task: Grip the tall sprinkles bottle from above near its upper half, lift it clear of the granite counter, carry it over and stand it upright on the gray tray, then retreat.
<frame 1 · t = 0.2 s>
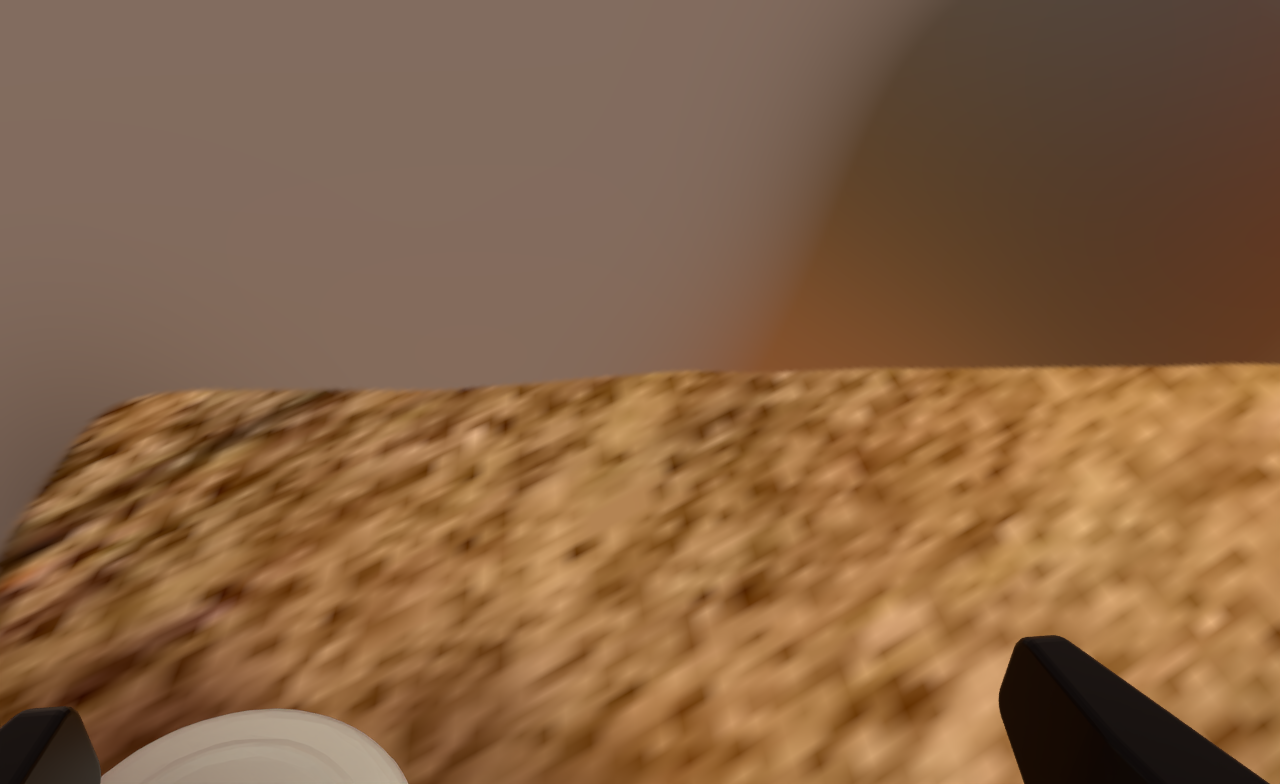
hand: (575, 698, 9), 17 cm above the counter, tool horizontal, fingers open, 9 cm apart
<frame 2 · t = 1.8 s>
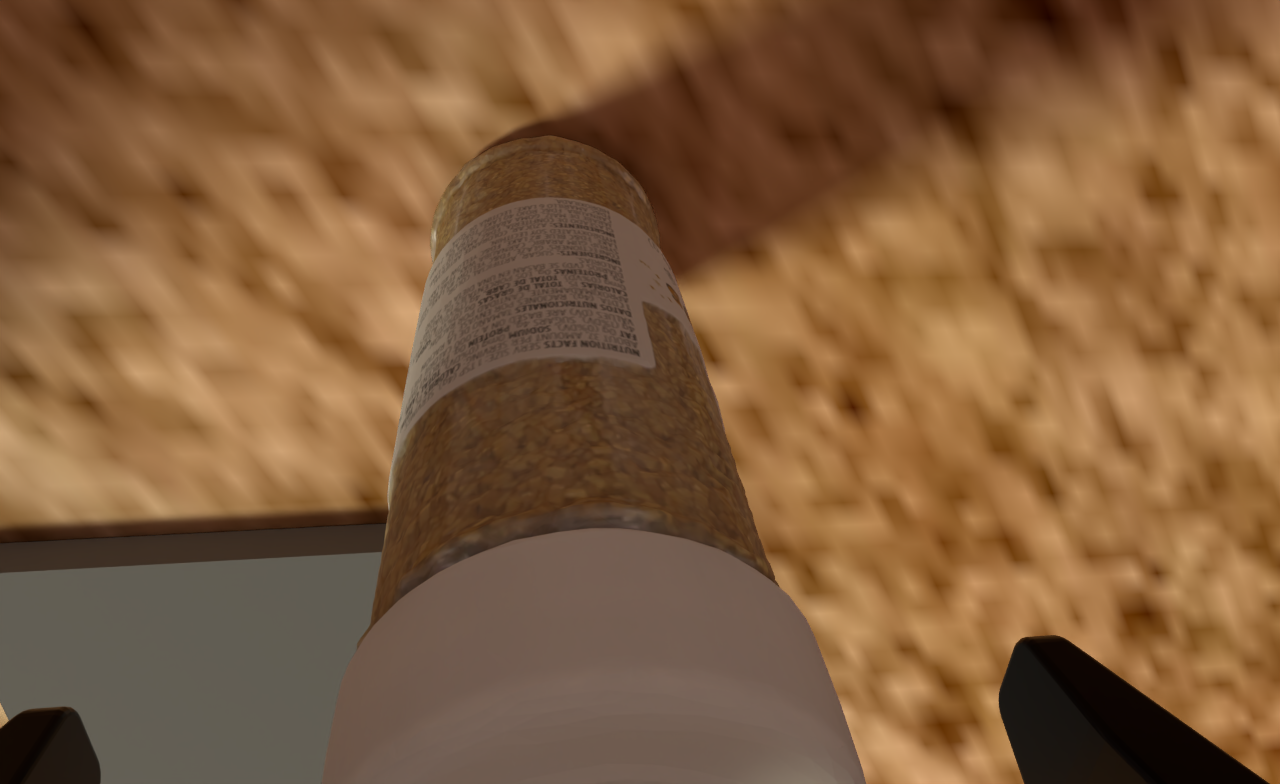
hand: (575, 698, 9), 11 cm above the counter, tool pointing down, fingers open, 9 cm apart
sprinkles bottle: (544, 236, 19), on the counter
gray tray: (365, 701, 25), on the counter
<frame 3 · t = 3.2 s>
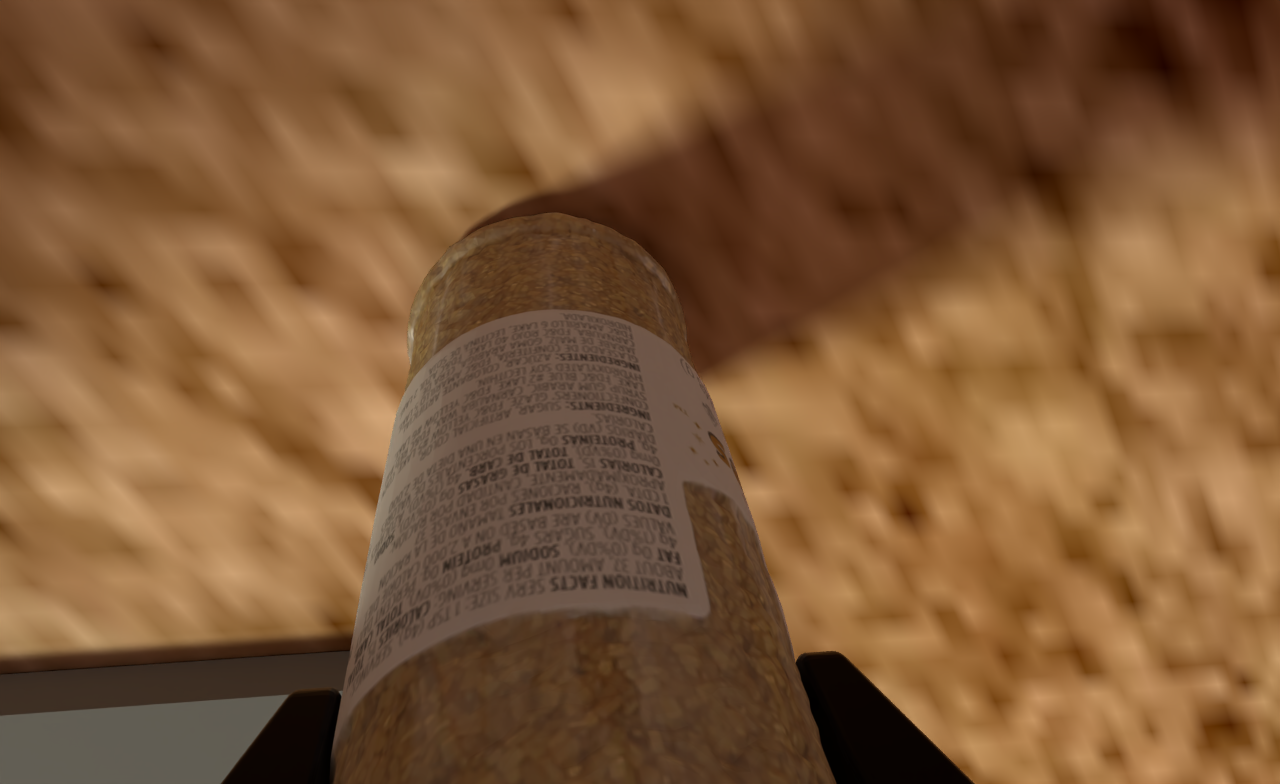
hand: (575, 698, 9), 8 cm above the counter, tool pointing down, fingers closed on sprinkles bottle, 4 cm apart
sprinkles bottle: (545, 326, 16), on the counter, touching gripper
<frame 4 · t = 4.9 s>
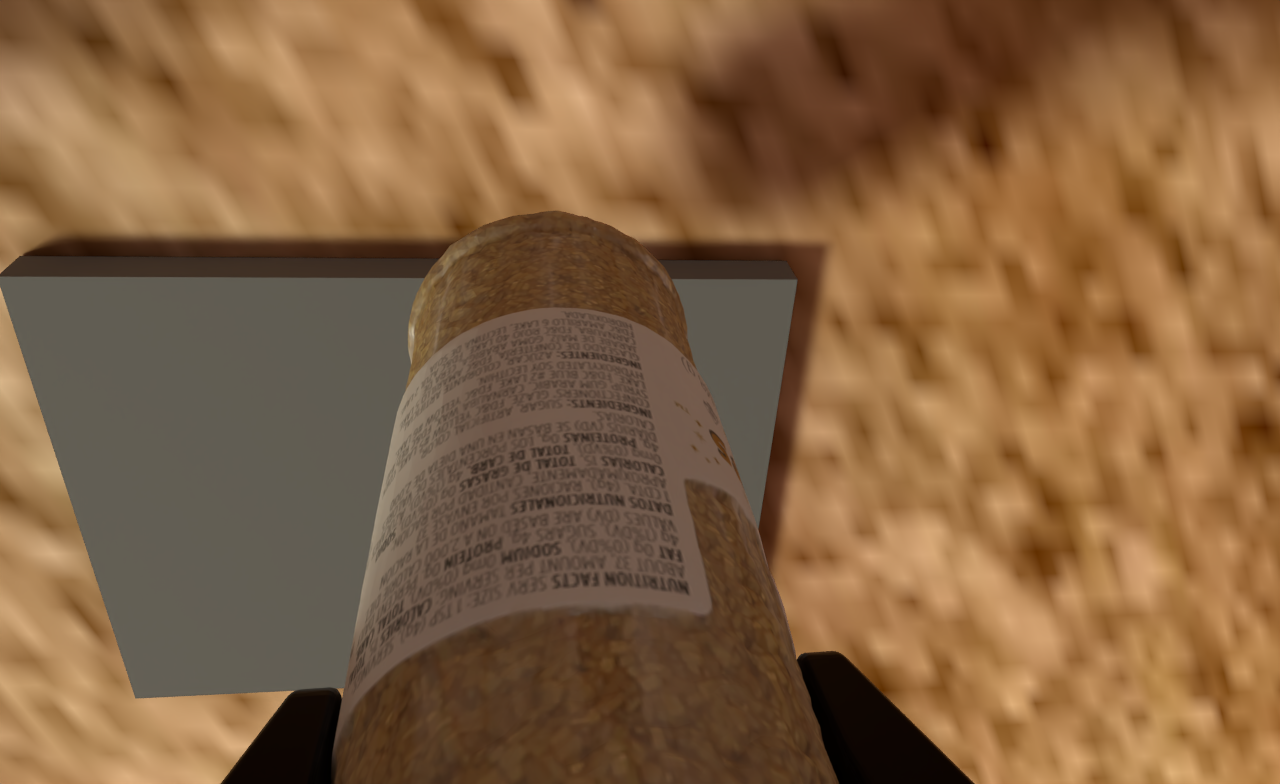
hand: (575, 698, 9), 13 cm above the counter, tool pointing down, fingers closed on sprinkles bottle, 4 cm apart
sprinkles bottle: (546, 325, 16), point 5 cm above the counter, touching gripper
gray tray: (438, 483, 23), on the counter
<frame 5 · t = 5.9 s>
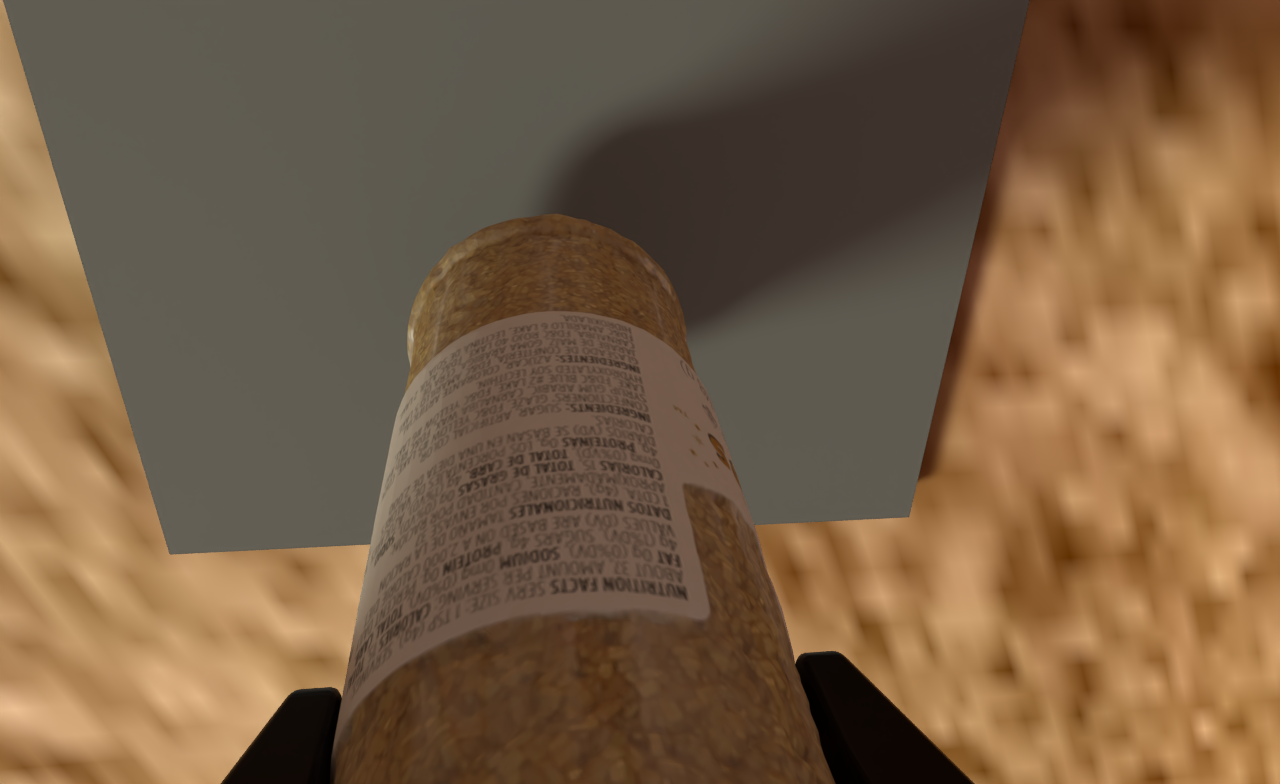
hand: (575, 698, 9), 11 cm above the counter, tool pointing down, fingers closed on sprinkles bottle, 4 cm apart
sprinkles bottle: (545, 327, 16), point 3 cm above the counter, touching gripper
gray tray: (549, 261, 18), on the counter
when the fingers open (9 cm above the counter, at t = 6.8 s): sprinkles bottle stays where it is, resting on gray tray.
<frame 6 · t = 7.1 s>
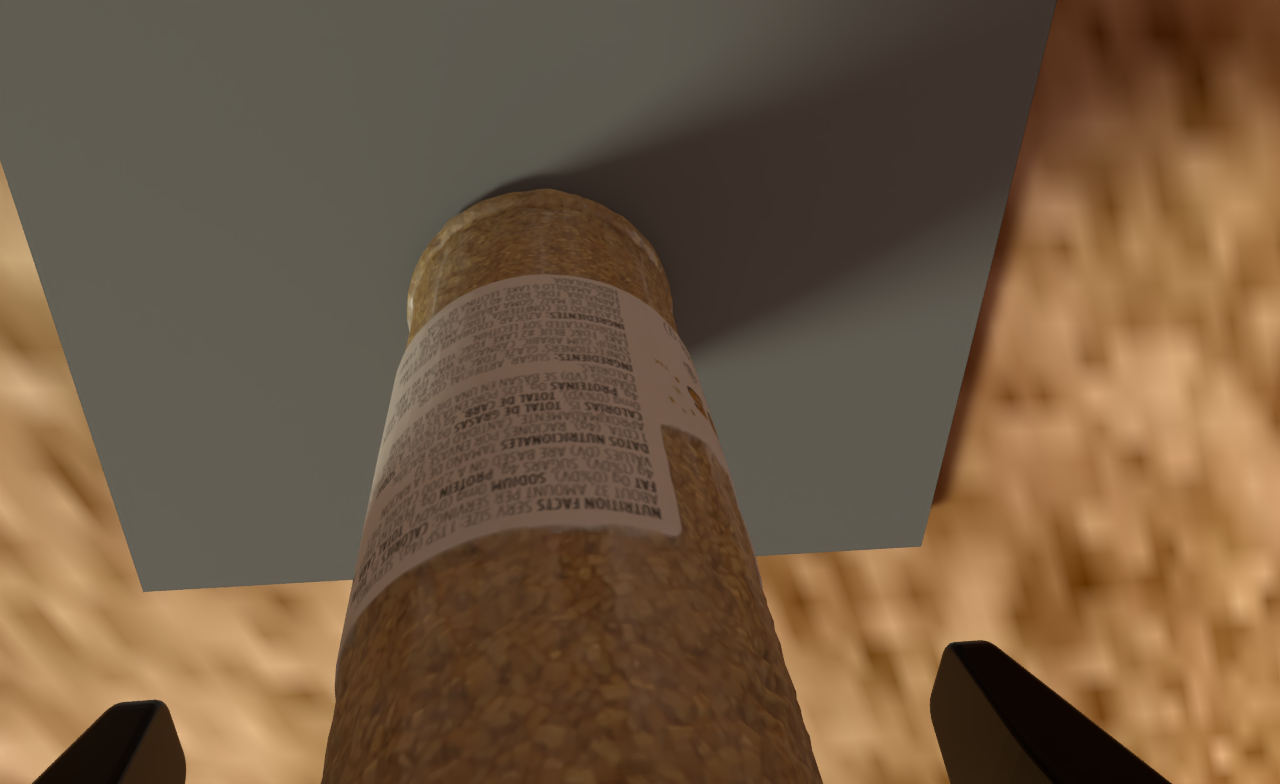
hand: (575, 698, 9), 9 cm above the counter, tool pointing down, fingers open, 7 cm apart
sprinkles bottle: (539, 299, 16), point 1 cm above the counter, touching gray tray
gray tray: (543, 282, 17), on the counter
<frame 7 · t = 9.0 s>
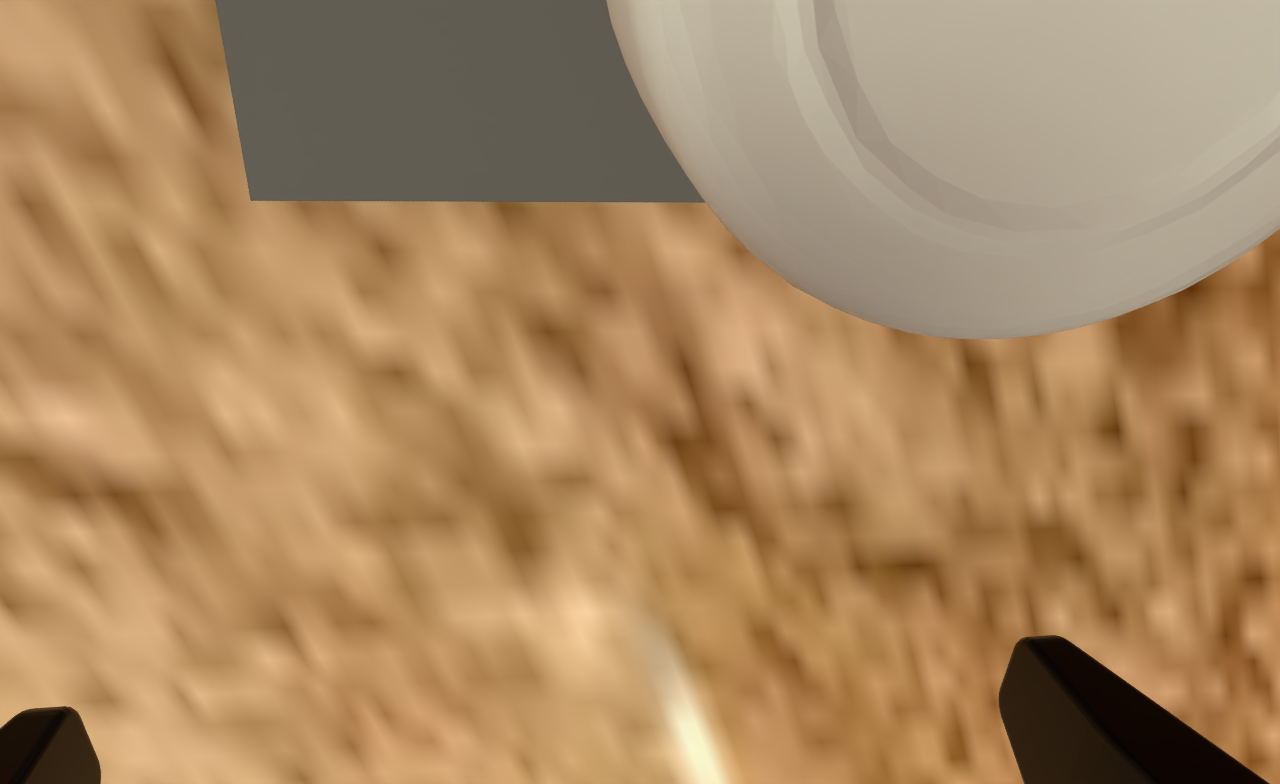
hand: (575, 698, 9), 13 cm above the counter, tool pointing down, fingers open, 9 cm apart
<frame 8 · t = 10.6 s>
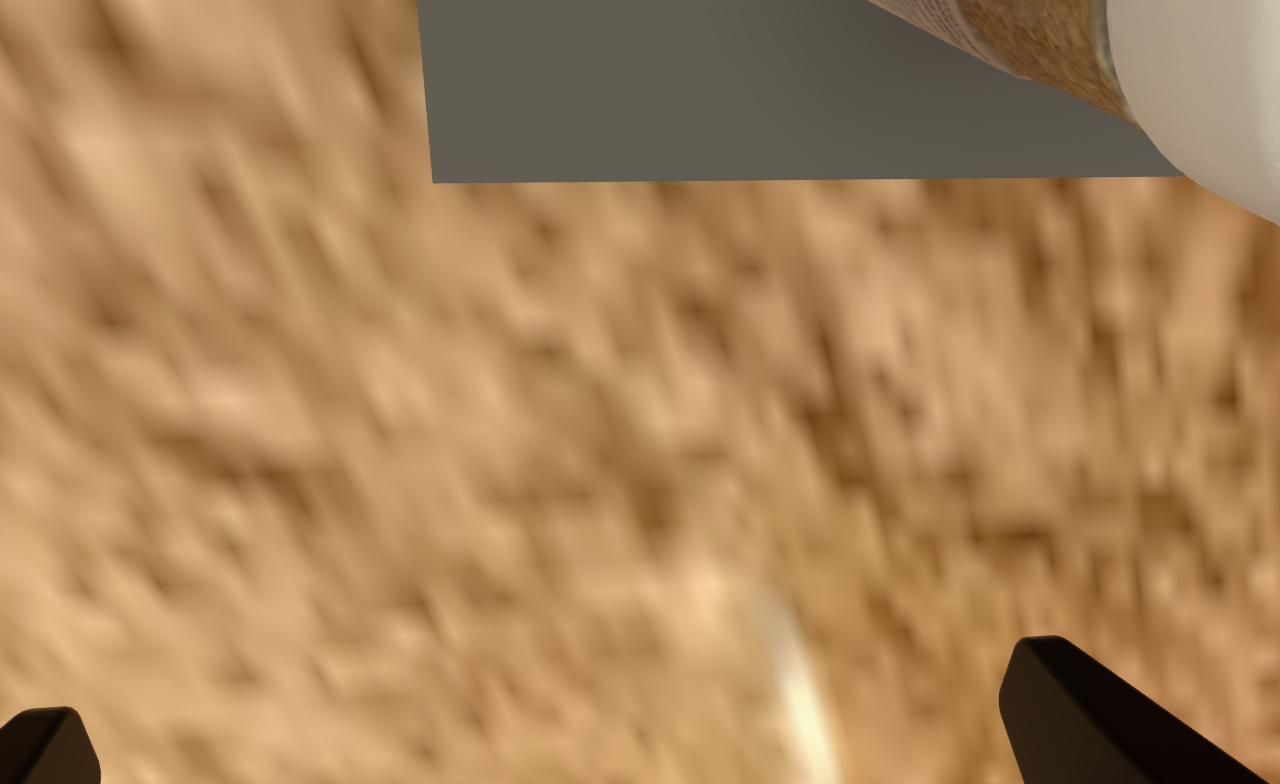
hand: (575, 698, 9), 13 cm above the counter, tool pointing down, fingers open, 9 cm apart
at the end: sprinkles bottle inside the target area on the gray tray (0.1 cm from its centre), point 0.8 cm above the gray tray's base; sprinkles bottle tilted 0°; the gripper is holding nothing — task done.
